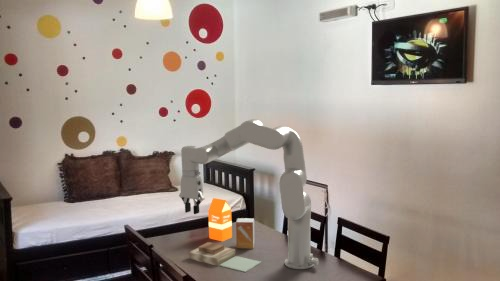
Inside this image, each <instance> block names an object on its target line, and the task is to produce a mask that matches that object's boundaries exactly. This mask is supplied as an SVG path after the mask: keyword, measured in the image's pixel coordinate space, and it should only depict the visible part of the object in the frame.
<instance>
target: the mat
mask: <svg viewBox="0 0 500 281" xmlns="http://www.w3.org/2000/svg"><path fill="white" fill-rule="evenodd" d="M261 263H262V261H261V260H260V261H259V260H255V259H253V258H252V259H251V258H246V257H242V256H238V255H236V256H235V257H233V258H231V259H229V260H227V261H226V262H224V263H222V264H220V265H219V267H223V268H228V269H230V270H231V269H232V270H235V271H239V272H243V273H247V272H249V271H250V270H252V269H254V268H255V267H256V266H258V265H260V264H261Z"/></svg>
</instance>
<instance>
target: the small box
mask: <svg viewBox="0 0 500 281" xmlns="http://www.w3.org/2000/svg"><path fill="white" fill-rule="evenodd" d="M235 227H236V228H235V229H236V230H235V232H236V233H235V234H236V237H235V240H236V249H250V250H252V249H254V247H255V218H254V217H253V218H251V217H250V218H247V217H245V218H244V217H241V218H239V217H238V218H236V223H235Z"/></svg>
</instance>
